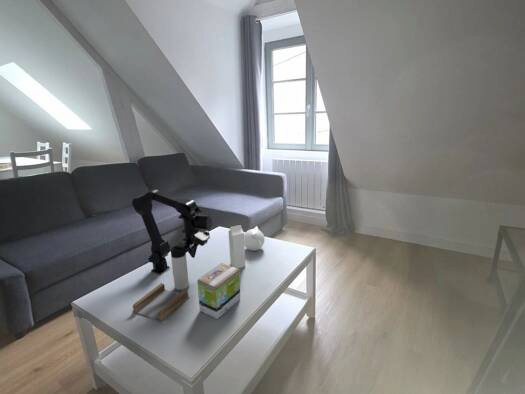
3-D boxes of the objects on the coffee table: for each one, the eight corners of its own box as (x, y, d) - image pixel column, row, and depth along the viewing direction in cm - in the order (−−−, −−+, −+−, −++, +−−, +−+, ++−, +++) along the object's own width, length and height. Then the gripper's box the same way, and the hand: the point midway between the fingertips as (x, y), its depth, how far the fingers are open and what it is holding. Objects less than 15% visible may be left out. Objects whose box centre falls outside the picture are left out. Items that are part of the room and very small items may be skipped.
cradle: (132, 311, 114) (131, 304, 113) (160, 289, 128) (159, 282, 127) (163, 322, 108) (162, 314, 107) (189, 297, 122) (188, 290, 121)
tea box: (218, 320, 108) (215, 287, 104) (199, 311, 113) (195, 279, 109) (241, 298, 120) (239, 268, 116) (223, 291, 126) (221, 261, 121)
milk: (230, 264, 148) (227, 225, 141) (241, 261, 150) (239, 222, 144) (234, 269, 142) (232, 229, 136) (245, 266, 145) (243, 226, 138)
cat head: (244, 243, 171) (244, 224, 167) (266, 243, 169) (265, 225, 165) (239, 255, 157) (238, 234, 153) (262, 256, 155) (262, 235, 151)
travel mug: (192, 284, 131) (188, 245, 125) (183, 292, 125) (179, 252, 119) (180, 281, 133) (176, 243, 127) (171, 289, 127) (167, 249, 121)
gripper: (192, 238, 119) (195, 270, 124) (215, 222, 135) (218, 251, 140) (171, 234, 123) (175, 265, 128) (196, 219, 140) (199, 247, 144)
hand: (193, 257), depth 135 cm, fingers closed
